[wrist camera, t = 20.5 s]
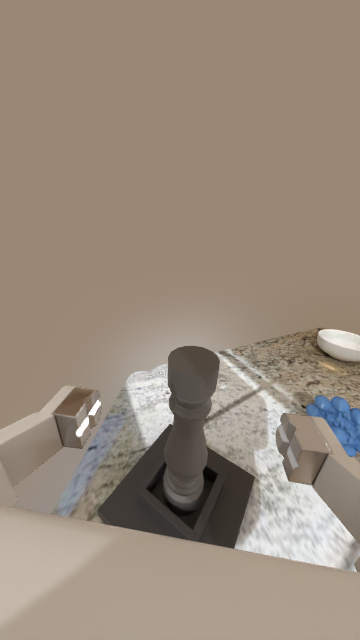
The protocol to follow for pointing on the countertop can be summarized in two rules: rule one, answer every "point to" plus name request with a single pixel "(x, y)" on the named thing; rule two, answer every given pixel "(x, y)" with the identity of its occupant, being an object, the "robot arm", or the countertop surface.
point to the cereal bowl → (340, 344)
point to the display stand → (155, 517)
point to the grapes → (339, 421)
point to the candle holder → (188, 426)
